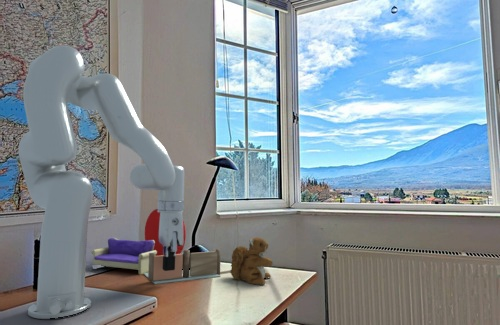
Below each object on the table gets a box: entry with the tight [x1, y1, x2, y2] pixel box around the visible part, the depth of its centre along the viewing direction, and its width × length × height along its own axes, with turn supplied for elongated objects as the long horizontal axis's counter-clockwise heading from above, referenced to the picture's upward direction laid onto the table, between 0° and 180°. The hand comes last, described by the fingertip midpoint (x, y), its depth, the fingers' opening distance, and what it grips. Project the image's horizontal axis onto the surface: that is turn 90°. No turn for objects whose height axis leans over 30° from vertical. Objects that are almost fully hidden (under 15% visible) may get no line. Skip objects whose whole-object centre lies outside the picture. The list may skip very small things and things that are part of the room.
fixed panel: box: [182, 248, 222, 278], centre depth 113 cm, size 2×13×8 cm, turn 120°
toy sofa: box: [91, 237, 157, 276], centre depth 121 cm, size 21×9×10 cm, turn 71°
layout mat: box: [143, 270, 221, 285], centre depth 114 cm, size 14×21×1 cm, turn 120°
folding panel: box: [147, 253, 183, 282], centre depth 107 cm, size 2×10×8 cm, turn 120°
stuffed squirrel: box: [229, 236, 274, 286], centre depth 110 cm, size 10×14×13 cm
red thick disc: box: [144, 208, 187, 256], centre depth 140 cm, size 20×6×20 cm, turn 47°
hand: (168, 269), depth 103 cm, fingers closed
